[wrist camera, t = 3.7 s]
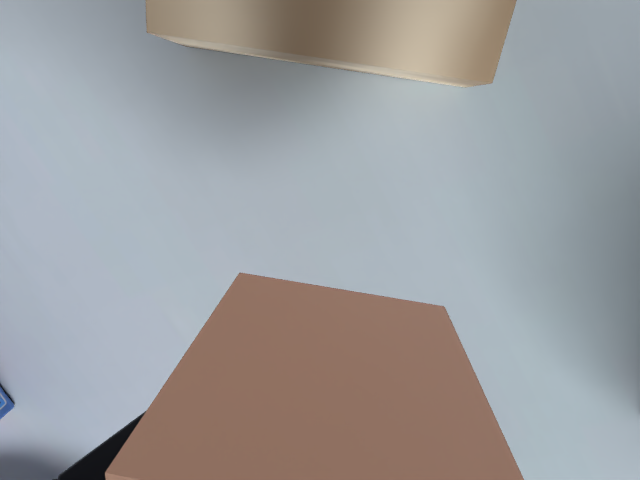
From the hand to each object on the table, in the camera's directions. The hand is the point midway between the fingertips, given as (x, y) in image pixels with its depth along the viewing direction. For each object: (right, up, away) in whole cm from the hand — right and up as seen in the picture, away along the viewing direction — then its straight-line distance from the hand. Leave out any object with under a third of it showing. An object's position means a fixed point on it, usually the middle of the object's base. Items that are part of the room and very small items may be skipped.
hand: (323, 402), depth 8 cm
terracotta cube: (0, 0, +1) cm, 1 cm away
